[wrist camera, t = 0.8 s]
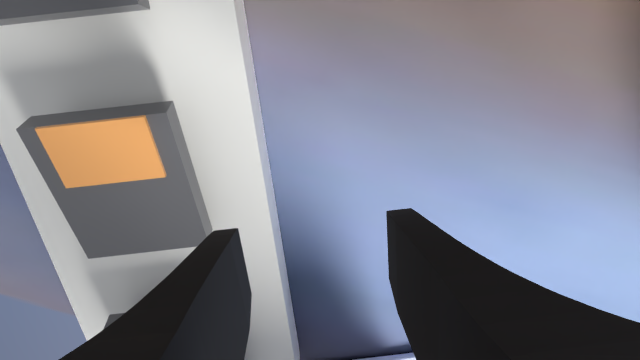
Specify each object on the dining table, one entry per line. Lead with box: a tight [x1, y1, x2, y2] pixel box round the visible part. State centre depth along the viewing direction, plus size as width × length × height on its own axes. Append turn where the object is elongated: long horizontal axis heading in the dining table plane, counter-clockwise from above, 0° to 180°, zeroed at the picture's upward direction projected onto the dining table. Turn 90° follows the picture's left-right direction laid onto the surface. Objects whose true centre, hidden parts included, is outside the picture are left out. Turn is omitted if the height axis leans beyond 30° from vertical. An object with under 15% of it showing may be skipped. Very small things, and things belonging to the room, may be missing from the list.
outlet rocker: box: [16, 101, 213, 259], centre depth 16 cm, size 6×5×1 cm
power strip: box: [0, 0, 300, 360], centre depth 19 cm, size 31×10×3 cm, turn 6°
